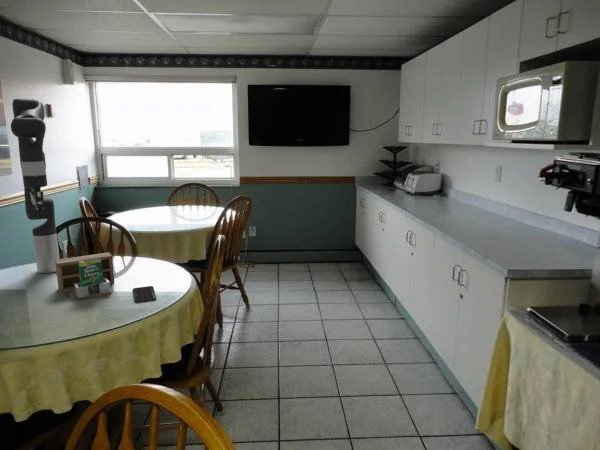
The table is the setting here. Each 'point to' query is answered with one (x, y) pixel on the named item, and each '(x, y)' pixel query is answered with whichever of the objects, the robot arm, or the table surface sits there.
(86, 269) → the coffee box
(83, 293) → the grey open rectangular frame
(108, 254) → the walnut cabinet
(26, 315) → the table surface
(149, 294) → the phone
